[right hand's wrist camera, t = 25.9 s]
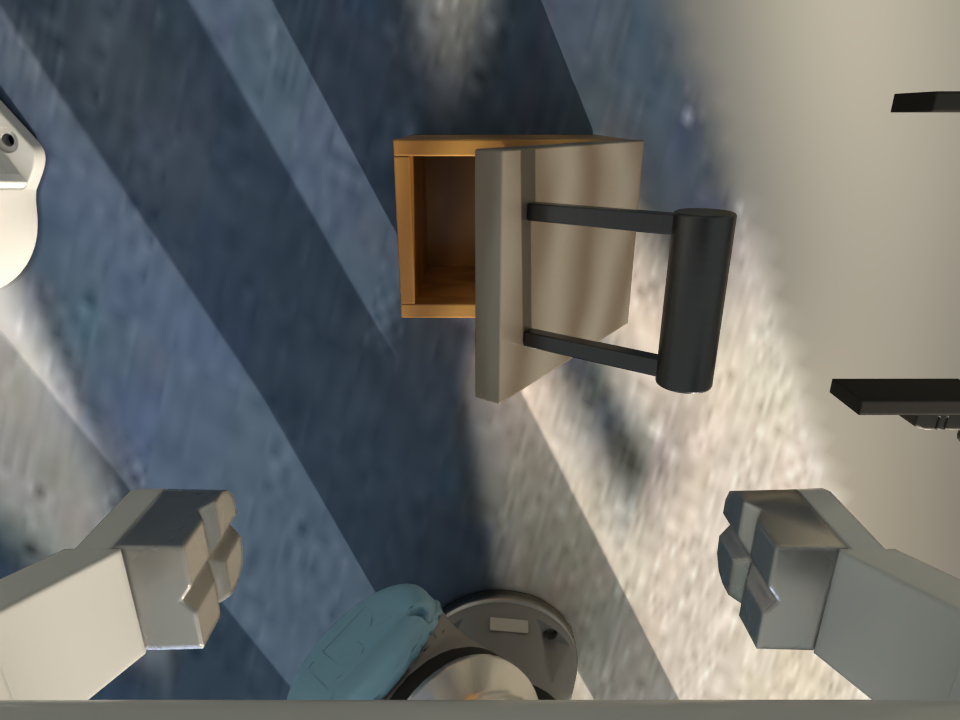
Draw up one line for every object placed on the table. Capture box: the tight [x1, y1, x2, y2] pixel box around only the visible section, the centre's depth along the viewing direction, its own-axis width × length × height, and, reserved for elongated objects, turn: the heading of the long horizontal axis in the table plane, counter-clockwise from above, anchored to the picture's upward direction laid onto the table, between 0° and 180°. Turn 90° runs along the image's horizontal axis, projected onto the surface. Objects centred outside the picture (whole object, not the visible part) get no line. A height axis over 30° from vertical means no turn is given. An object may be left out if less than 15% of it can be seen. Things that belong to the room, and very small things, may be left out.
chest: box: [393, 135, 628, 318], centre depth 42 cm, size 13×10×11 cm
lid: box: [475, 140, 737, 404], centre depth 28 cm, size 14×10×9 cm
